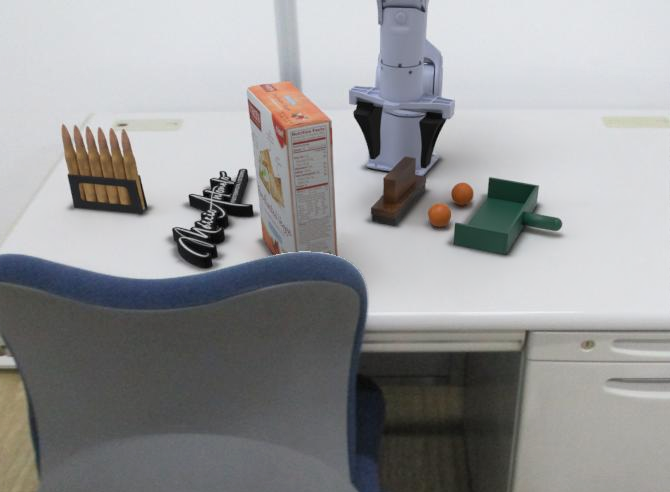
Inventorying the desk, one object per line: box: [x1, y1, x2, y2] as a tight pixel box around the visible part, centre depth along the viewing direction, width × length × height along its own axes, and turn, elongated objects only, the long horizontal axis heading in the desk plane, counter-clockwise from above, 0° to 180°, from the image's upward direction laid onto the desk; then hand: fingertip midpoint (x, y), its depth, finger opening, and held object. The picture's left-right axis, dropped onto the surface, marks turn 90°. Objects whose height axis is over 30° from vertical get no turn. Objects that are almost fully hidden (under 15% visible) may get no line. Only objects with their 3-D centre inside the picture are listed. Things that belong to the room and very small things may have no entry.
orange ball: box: [450, 182, 474, 206], centre depth 121 cm, size 3×3×3 cm
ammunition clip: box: [60, 123, 149, 215], centre depth 117 cm, size 11×2×12 cm, turn 79°
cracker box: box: [246, 80, 338, 256], centre depth 102 cm, size 14×6×21 cm, turn 24°
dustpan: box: [453, 176, 563, 255], centre depth 115 cm, size 13×16×3 cm
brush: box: [370, 157, 427, 226], centre depth 119 cm, size 4×13×6 cm, turn 157°
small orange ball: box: [427, 202, 452, 228], centre depth 116 cm, size 3×3×3 cm
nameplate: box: [171, 168, 254, 269], centre depth 117 cm, size 27×2×10 cm
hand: (400, 161), depth 117 cm, fingers open, 7 cm apart
